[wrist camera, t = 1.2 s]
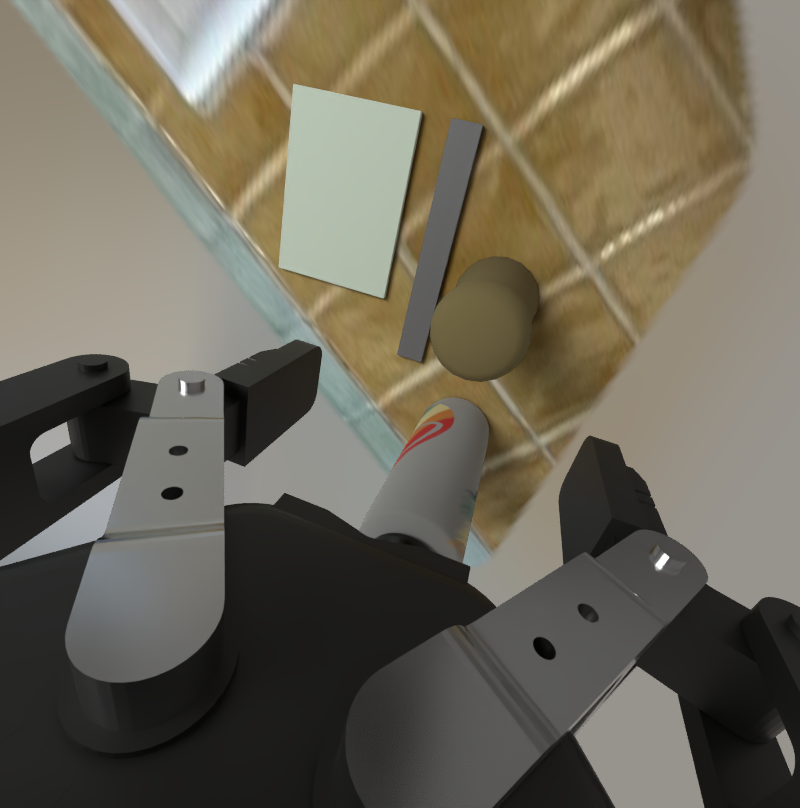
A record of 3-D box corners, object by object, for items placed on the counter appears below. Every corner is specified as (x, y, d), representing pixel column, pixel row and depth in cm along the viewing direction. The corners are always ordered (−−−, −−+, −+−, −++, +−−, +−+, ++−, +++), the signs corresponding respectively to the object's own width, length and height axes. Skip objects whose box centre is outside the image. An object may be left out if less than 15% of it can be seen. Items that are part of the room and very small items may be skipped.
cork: (558, 286, 28) (570, 320, 18) (506, 357, 31) (493, 419, 21) (482, 239, 28) (455, 249, 19) (437, 314, 31) (394, 356, 22)
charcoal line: (452, 119, 26) (451, 117, 26) (483, 125, 26) (482, 124, 25) (398, 353, 33) (397, 354, 33) (421, 360, 33) (420, 362, 33)
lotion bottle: (409, 412, 35) (285, 604, 18) (468, 384, 33) (391, 574, 15) (443, 466, 36) (359, 696, 19) (502, 442, 34) (468, 682, 16)
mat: (296, 85, 28) (293, 83, 28) (422, 112, 26) (421, 111, 26) (281, 266, 33) (278, 267, 33) (385, 297, 32) (383, 298, 32)
